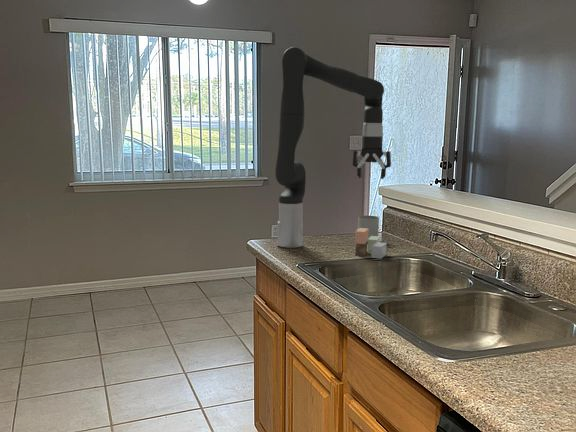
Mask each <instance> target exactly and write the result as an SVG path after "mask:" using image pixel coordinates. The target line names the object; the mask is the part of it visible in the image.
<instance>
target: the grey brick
mask: <svg viewBox="0 0 576 432" xmlns="http://www.w3.org/2000/svg"><path fill="white" fill-rule="evenodd" d="M386 255H387V242H381V241H380V242H377V243H375V244H374V245H373V246H372V251H371V258H372V259H373V258H374V259H378V260H379V259H380V260H381V259H382V258H384V257H385V256H386Z"/></svg>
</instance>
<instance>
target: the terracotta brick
mask: <svg viewBox="0 0 576 432" xmlns="http://www.w3.org/2000/svg"><path fill="white" fill-rule="evenodd" d="M368 232H369V229H368V228H359V229H358V228H357V230H355V231H354V235H355V236H354V244H356V243H358V244H365V243H366V242H367V241H368Z"/></svg>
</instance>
